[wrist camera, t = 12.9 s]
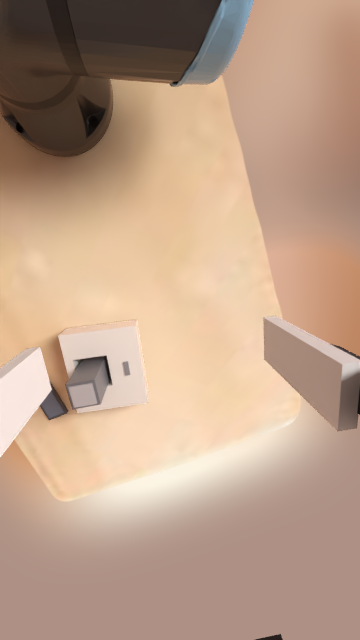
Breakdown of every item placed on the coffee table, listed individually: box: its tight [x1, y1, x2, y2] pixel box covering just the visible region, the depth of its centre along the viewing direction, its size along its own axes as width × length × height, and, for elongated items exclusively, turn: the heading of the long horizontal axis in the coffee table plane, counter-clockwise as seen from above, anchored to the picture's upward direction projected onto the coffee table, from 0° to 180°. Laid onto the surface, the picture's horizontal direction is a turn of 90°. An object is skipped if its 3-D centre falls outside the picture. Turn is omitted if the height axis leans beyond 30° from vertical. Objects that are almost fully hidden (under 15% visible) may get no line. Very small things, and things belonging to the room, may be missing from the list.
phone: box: [40, 382, 68, 420], centre depth 46 cm, size 7×4×1 cm, turn 22°
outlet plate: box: [58, 319, 149, 413], centre depth 43 cm, size 14×12×4 cm
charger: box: [65, 355, 111, 409], centre depth 40 cm, size 4×4×10 cm
